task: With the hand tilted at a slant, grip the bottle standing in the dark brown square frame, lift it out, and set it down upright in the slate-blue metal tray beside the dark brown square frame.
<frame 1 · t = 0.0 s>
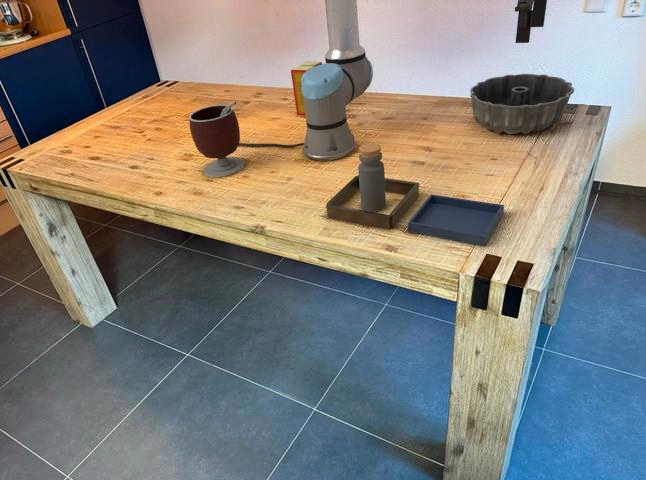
hand: (529, 34, 117), 28 cm above the table, tool pointing down, fingers open, 13 cm apart
tray: (455, 222, 110), on the table
dark brown square frame: (373, 206, 121), on the table
bottle: (373, 206, 121), resting in dark brown square frame
mate gourd: (226, 168, 153), on the table
bundt pan: (516, 124, 146), on the table
baking soda box: (312, 111, 182), on the table
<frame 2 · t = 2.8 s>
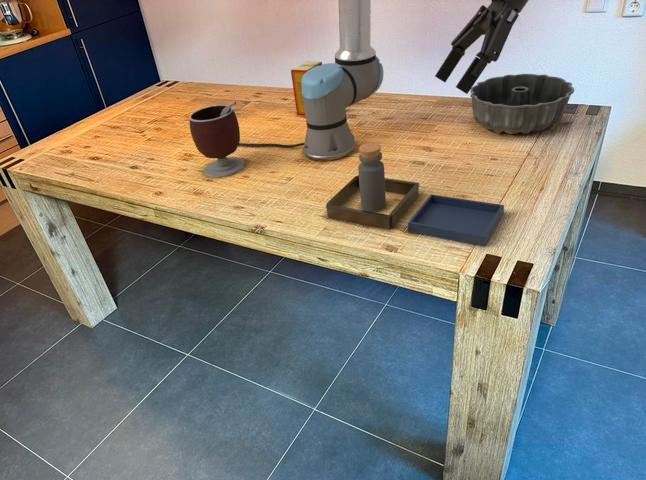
hand: (449, 84, 109), 24 cm above the table, tool tilted 40°, fingers open, 13 cm apart
nothing on the table moved.
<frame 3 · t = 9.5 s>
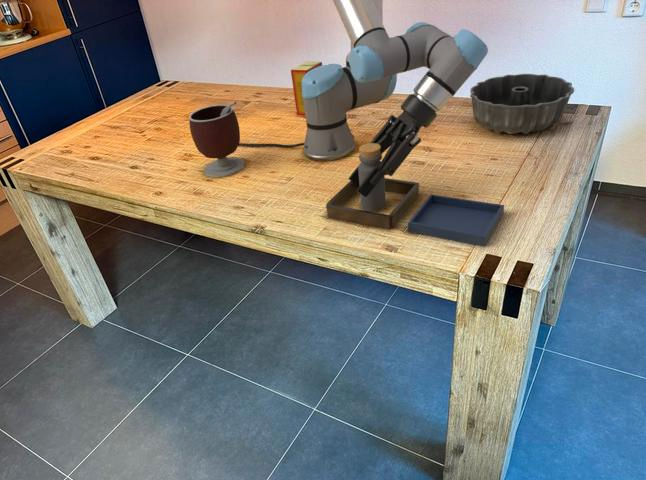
hand: (357, 187, 117), 6 cm above the table, tool tilted 45°, fingers closed on bottle, 6 cm apart
bottle: (373, 206, 121), resting in dark brown square frame, touching gripper
everything else where it was.
when the fingers open (6 cm above the table, at t = 18.5 s): bottle stays where it is, resting on tray.
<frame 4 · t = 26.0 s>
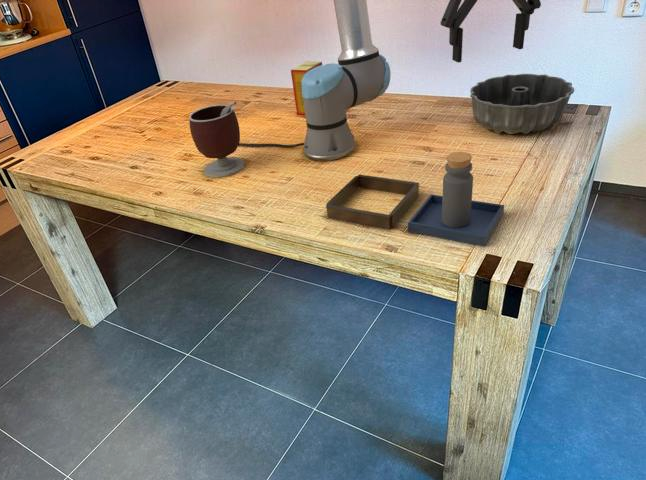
hand: (487, 54, 108), 29 cm above the table, tool pointing down, fingers open, 13 cm apart
bottle: (455, 221, 109), resting on tray
everything else where it was.
at the end: bottle inside the target area in the tray (0.0 cm from its centre), point 0.3 cm above the tray's base; bottle tilted 0°; the gripper is holding nothing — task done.
